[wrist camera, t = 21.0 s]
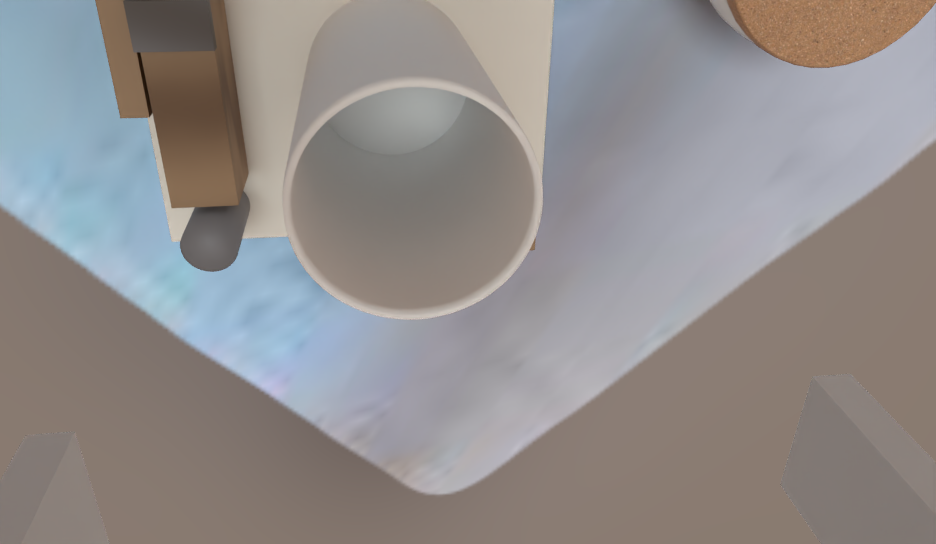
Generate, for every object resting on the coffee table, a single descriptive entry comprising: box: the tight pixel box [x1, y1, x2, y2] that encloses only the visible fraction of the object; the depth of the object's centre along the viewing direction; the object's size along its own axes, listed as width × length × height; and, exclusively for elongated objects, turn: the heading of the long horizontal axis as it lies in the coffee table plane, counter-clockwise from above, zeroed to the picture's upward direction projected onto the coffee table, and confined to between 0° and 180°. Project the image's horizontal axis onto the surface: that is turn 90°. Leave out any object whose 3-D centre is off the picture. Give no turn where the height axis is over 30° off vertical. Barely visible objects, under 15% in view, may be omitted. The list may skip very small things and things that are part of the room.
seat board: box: [95, 0, 554, 272], centre depth 35 cm, size 17×20×6 cm
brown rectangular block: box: [123, 0, 249, 208], centre depth 34 cm, size 9×3×5 cm, turn 0°
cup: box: [282, 0, 543, 320], centre depth 30 cm, size 8×8×16 cm
